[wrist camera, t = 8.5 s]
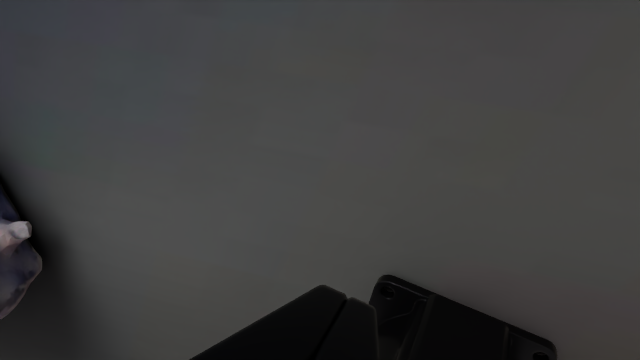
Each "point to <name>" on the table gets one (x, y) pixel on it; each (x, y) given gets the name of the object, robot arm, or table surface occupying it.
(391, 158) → the table surface
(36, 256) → the cell model
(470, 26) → the table surface
